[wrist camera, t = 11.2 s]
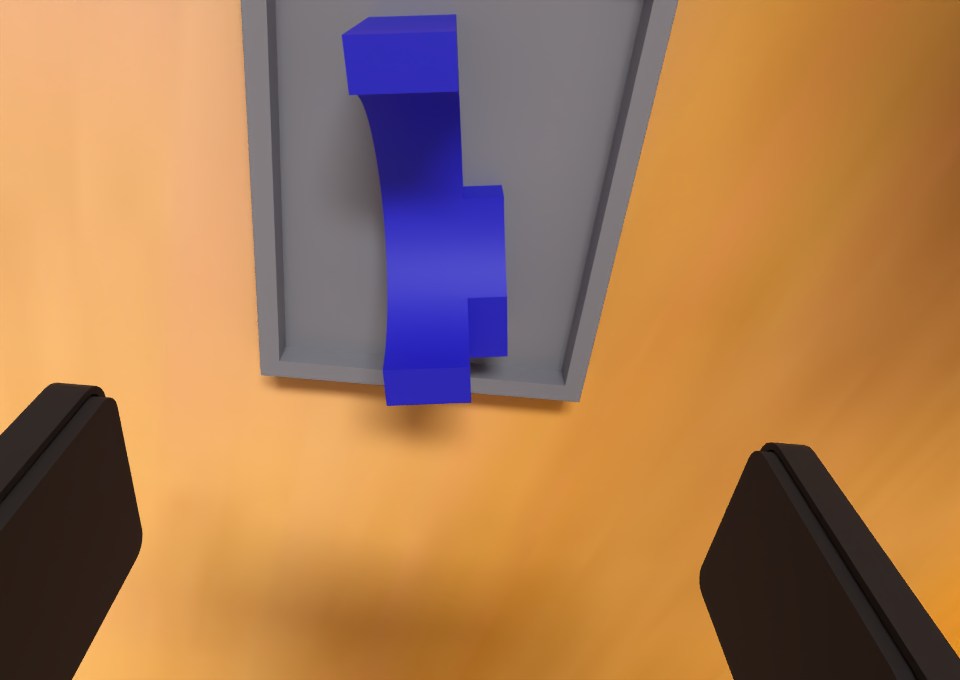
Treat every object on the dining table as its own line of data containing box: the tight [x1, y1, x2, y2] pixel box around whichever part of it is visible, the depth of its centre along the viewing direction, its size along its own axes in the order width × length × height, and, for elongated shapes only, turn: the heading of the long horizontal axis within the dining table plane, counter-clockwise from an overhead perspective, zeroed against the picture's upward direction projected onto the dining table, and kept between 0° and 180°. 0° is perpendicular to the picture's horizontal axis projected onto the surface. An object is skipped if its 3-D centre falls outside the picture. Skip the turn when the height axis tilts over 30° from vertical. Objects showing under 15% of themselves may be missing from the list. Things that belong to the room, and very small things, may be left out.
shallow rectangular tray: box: [241, 0, 678, 402], centre depth 25 cm, size 14×18×2 cm
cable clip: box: [342, 14, 508, 406], centre depth 23 cm, size 12×4×6 cm, turn 2°
